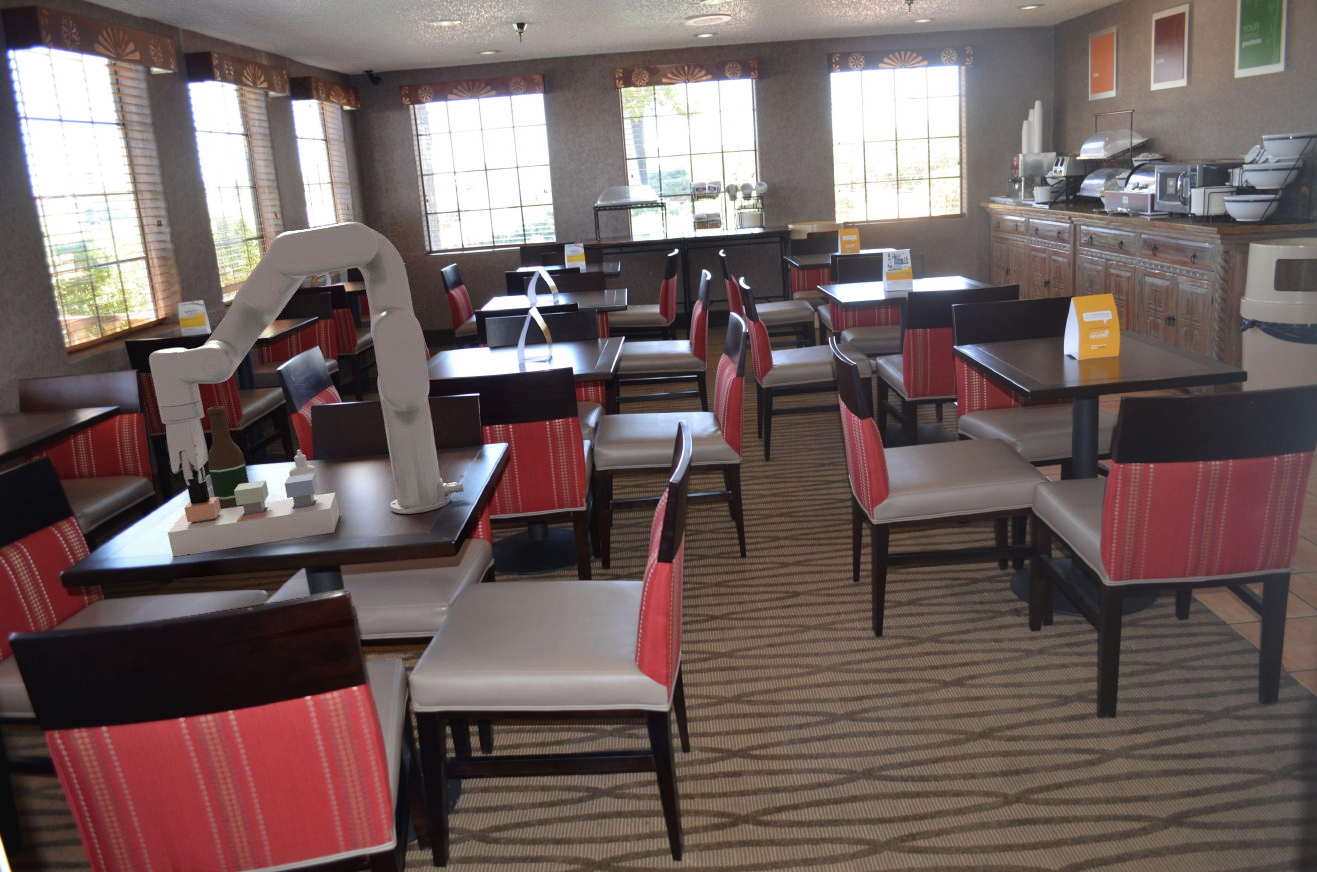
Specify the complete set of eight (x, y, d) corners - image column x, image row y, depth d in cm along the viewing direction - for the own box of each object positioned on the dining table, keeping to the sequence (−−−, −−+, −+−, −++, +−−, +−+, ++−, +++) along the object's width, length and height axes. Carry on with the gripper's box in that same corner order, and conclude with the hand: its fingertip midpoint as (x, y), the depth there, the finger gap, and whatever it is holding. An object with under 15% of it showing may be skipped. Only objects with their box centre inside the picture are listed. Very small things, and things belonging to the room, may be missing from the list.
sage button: (273, 517, 196) (265, 480, 194) (269, 525, 191) (261, 486, 189) (246, 521, 195) (238, 484, 193) (241, 529, 190) (233, 490, 188)
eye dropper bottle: (312, 504, 212) (302, 452, 209) (291, 504, 214) (281, 452, 211) (324, 498, 216) (315, 447, 213) (304, 498, 218) (294, 447, 215)
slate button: (321, 510, 198) (314, 473, 196) (318, 517, 193) (311, 479, 191) (295, 514, 197) (288, 477, 195) (291, 521, 192) (284, 483, 190)
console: (339, 514, 202) (335, 491, 201) (334, 532, 191) (329, 506, 189) (187, 537, 196) (182, 513, 195) (173, 556, 184) (167, 531, 183)
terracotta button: (225, 534, 194) (218, 496, 192) (220, 542, 189) (212, 503, 187) (198, 538, 193) (190, 500, 191) (192, 546, 188) (184, 507, 186)
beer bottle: (260, 506, 214) (240, 402, 209) (247, 517, 207) (225, 409, 201) (226, 509, 214) (204, 405, 209) (211, 520, 207) (189, 412, 201)
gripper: (170, 407, 191) (189, 495, 196) (150, 422, 177) (170, 516, 181) (210, 403, 193) (228, 489, 197) (193, 416, 179) (212, 510, 183)
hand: (200, 502), depth 189 cm, fingers closed
